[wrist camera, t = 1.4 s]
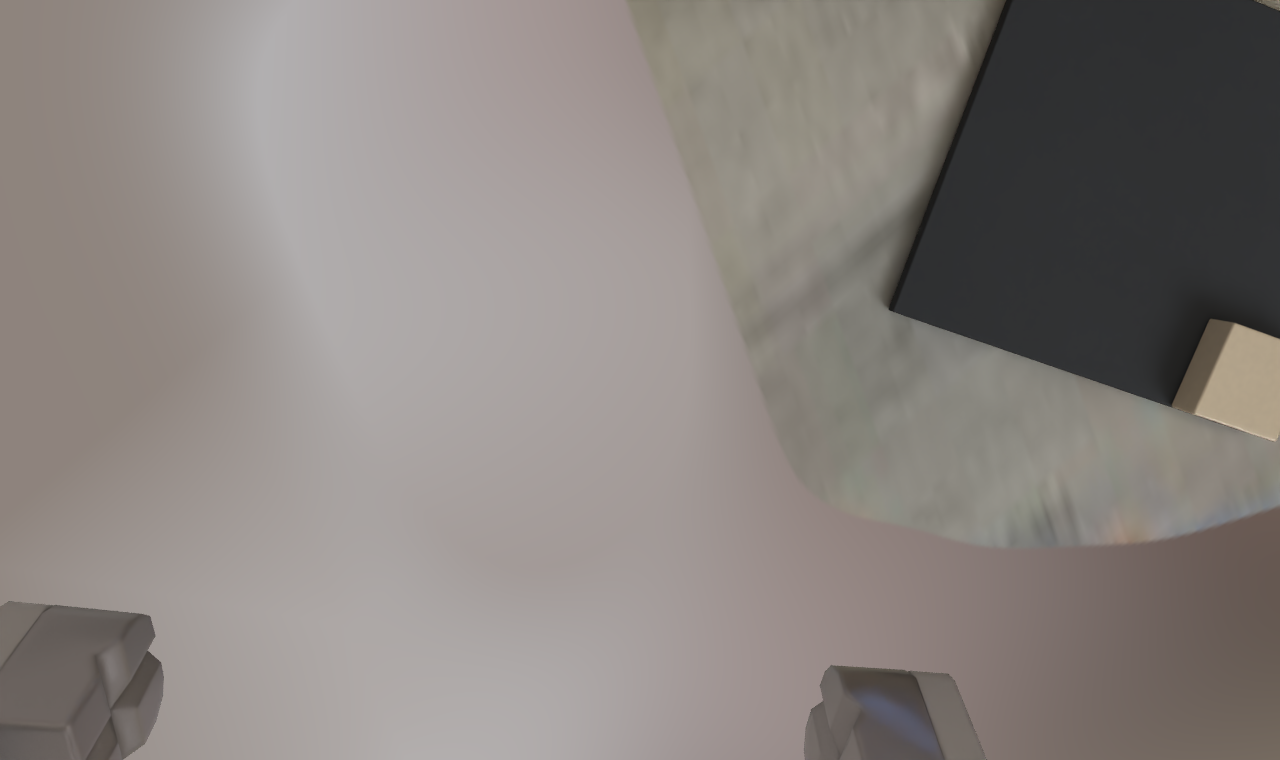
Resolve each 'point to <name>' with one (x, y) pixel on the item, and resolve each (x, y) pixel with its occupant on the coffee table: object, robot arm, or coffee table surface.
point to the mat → (1110, 189)
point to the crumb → (1234, 379)
